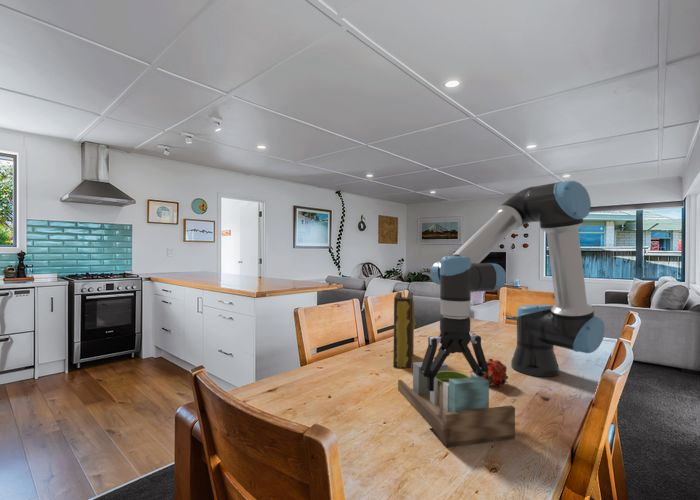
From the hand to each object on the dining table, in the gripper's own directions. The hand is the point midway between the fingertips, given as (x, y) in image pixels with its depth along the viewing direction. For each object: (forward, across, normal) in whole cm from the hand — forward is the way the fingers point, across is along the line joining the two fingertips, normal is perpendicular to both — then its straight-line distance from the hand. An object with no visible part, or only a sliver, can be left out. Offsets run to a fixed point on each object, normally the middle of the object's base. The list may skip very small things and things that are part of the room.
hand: (454, 401), depth 91 cm
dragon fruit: (+4, -22, -16) cm, 27 cm away
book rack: (+3, +1, -1) cm, 4 cm away
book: (+4, -4, -46) cm, 46 cm away
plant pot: (+3, 0, 0) cm, 3 cm away
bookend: (+2, 0, -13) cm, 13 cm away
